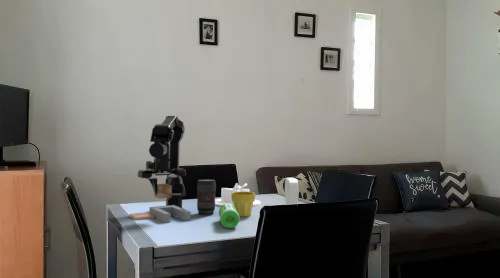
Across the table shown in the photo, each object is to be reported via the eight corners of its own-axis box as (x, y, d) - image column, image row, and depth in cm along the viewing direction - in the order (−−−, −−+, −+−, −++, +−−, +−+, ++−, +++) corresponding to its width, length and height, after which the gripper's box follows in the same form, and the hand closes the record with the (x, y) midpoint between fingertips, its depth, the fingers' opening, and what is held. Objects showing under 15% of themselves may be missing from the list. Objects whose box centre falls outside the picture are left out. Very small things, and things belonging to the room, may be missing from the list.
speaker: (218, 220, 187) (218, 202, 187) (235, 220, 188) (236, 202, 188) (220, 229, 170) (220, 209, 170) (239, 229, 171) (240, 209, 171)
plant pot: (227, 216, 196) (227, 193, 196) (236, 212, 206) (236, 190, 205) (250, 218, 192) (250, 195, 192) (257, 214, 202) (258, 192, 202)
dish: (269, 203, 235) (269, 181, 234) (243, 210, 213) (243, 186, 213) (229, 199, 248) (230, 178, 247) (201, 205, 226) (201, 182, 226)
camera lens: (218, 213, 203) (219, 179, 202) (209, 216, 195) (209, 181, 195) (202, 211, 206) (203, 178, 206) (193, 214, 199) (193, 180, 198)
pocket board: (173, 213, 201) (174, 205, 201) (190, 220, 186) (190, 211, 186) (149, 215, 196) (149, 207, 196) (164, 222, 180) (164, 213, 180)
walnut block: (165, 195, 188) (165, 183, 188) (171, 197, 183) (171, 185, 183) (154, 196, 185) (154, 184, 185) (159, 198, 180) (159, 186, 180)
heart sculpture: (300, 227, 176) (300, 180, 176) (287, 227, 176) (287, 180, 176) (294, 219, 192) (295, 176, 192) (282, 219, 192) (283, 176, 191)
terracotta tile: (147, 214, 197) (147, 212, 197) (154, 218, 189) (154, 215, 189) (128, 216, 192) (129, 213, 192) (135, 220, 185) (135, 217, 185)
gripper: (175, 154, 196) (175, 190, 197) (133, 155, 186) (133, 193, 187) (186, 155, 187) (186, 193, 187) (142, 157, 177) (142, 197, 177)
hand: (162, 194), depth 185 cm, fingers closed on walnut block, 5 cm apart
